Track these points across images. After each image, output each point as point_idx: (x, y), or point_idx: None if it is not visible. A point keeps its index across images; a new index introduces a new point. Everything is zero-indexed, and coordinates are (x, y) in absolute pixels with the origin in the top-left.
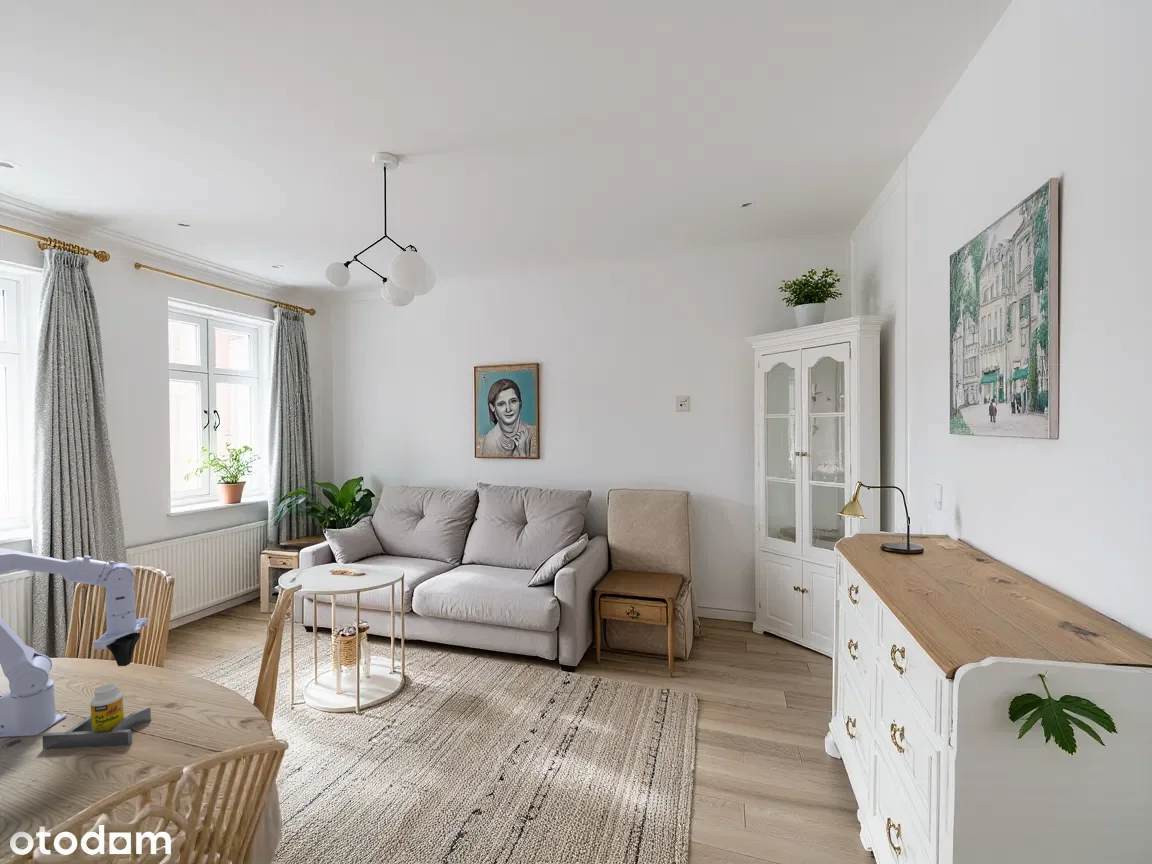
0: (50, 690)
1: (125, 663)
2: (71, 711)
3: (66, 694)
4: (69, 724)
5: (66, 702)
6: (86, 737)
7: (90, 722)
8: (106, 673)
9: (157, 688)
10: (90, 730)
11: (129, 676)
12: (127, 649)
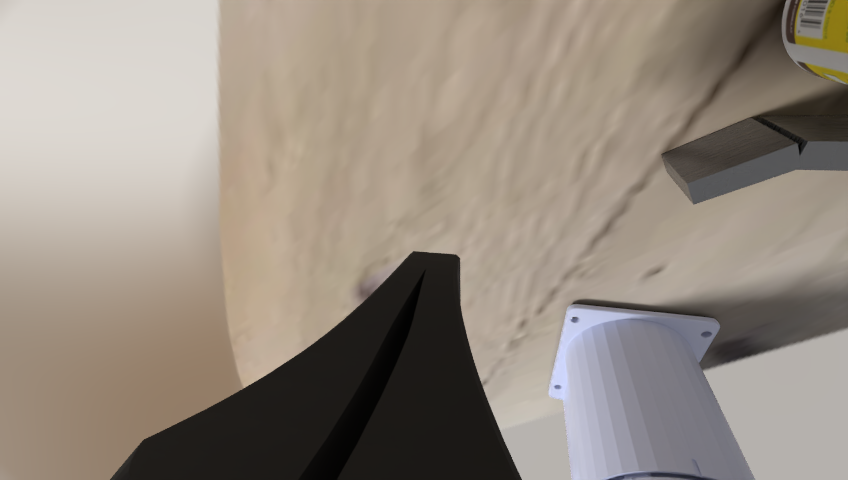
0: (680, 458)
1: (456, 273)
2: (529, 308)
3: None
4: (649, 260)
5: None
6: None
7: (835, 133)
8: (289, 342)
9: (347, 88)
10: (809, 116)
11: (287, 275)
12: (444, 381)
